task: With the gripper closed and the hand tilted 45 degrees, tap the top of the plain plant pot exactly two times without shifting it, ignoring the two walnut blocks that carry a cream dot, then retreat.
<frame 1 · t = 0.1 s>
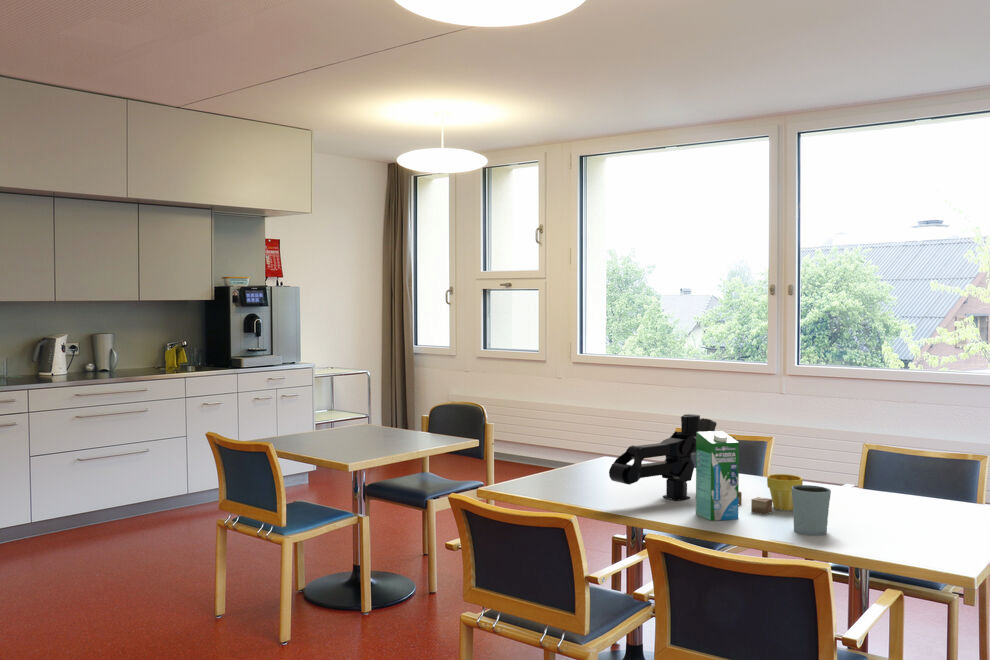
hand: (727, 441, 281), 17 cm above the table, tool horizontal, fingers open, 9 cm apart
marked block a: (761, 512, 248), on the table
plant pot: (784, 508, 253), on the table
drinking glass: (810, 532, 225), on the table
marked block b: (731, 503, 260), on the table
milk carton: (716, 517, 242), on the table
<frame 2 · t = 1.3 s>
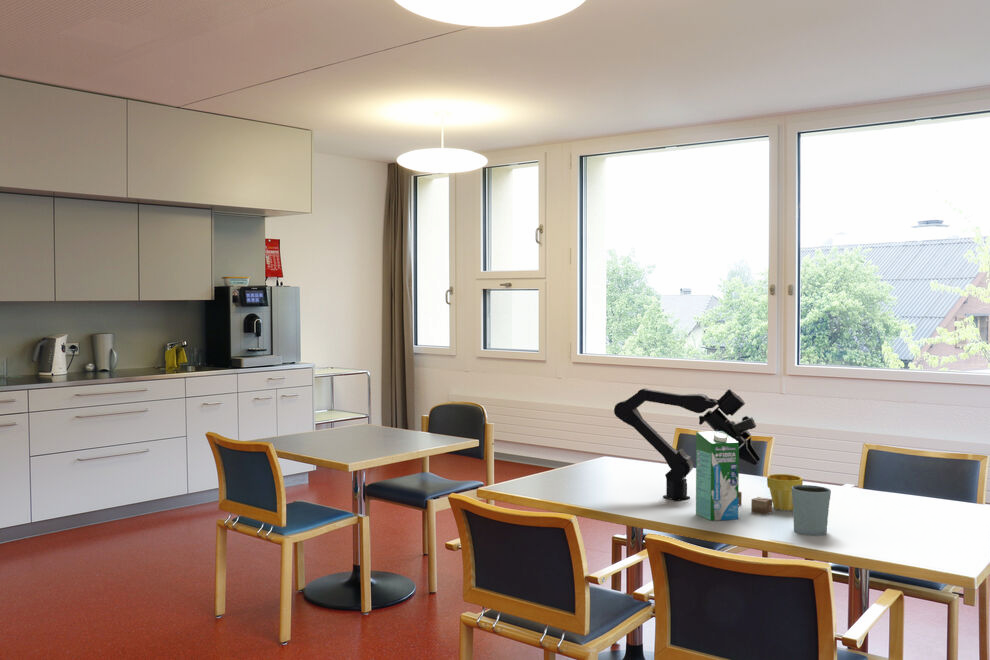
hand: (757, 462, 256), 14 cm above the table, tool tilted 45°, fingers open, 7 cm apart
nothing on the table moved.
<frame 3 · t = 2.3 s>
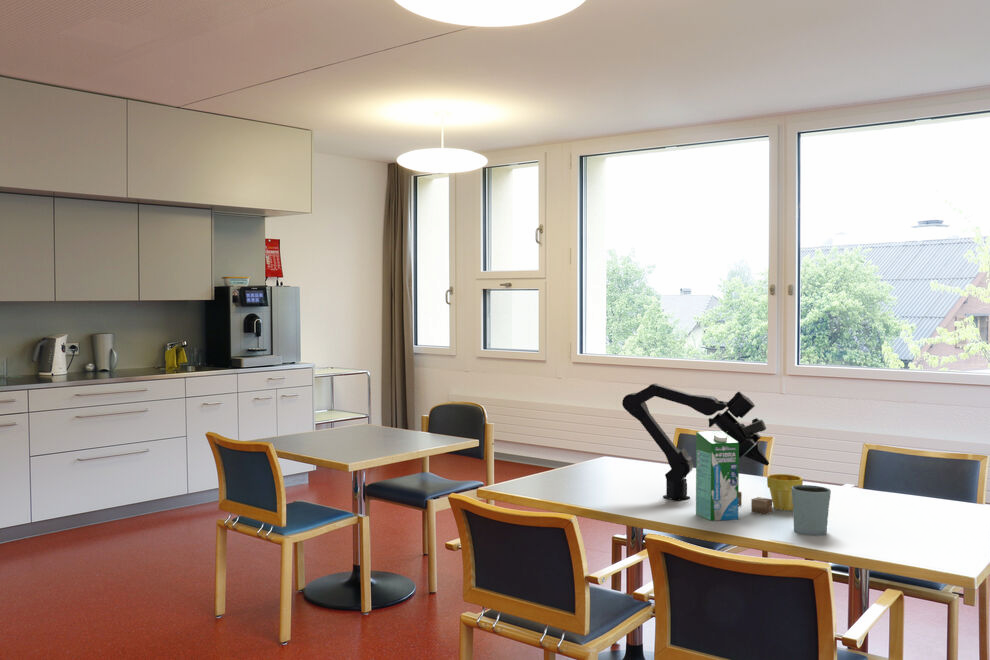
hand: (768, 464, 255), 13 cm above the table, tool tilted 45°, fingers closed
nothing on the table moved.
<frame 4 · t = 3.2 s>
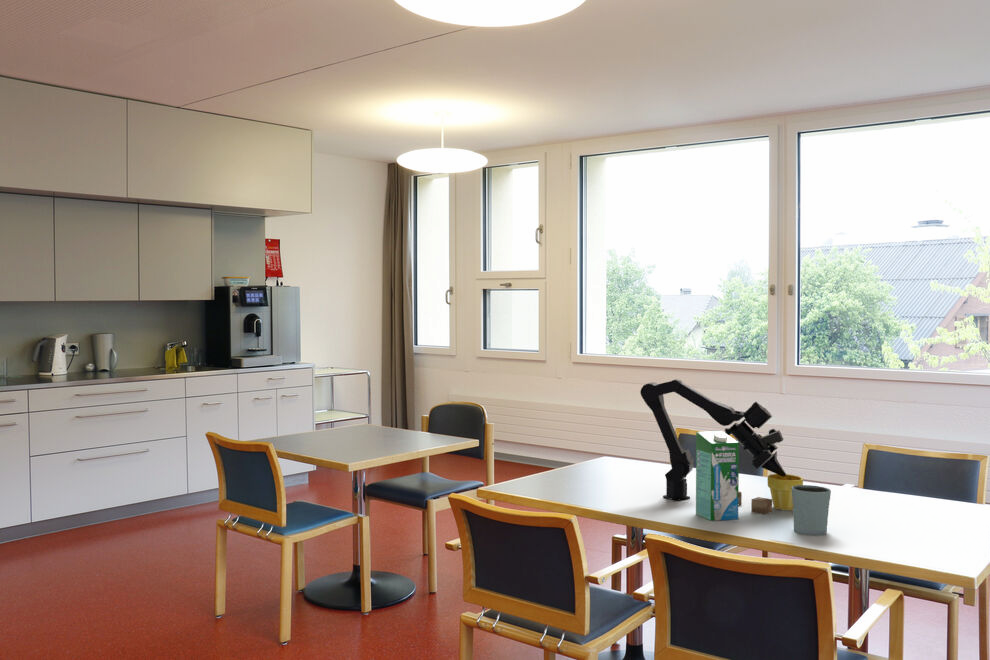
hand: (785, 475, 253), 10 cm above the table, tool tilted 45°, fingers closed, pressing on plant pot
plant pot: (784, 508, 253), on the table, touching gripper
everything else where it was.
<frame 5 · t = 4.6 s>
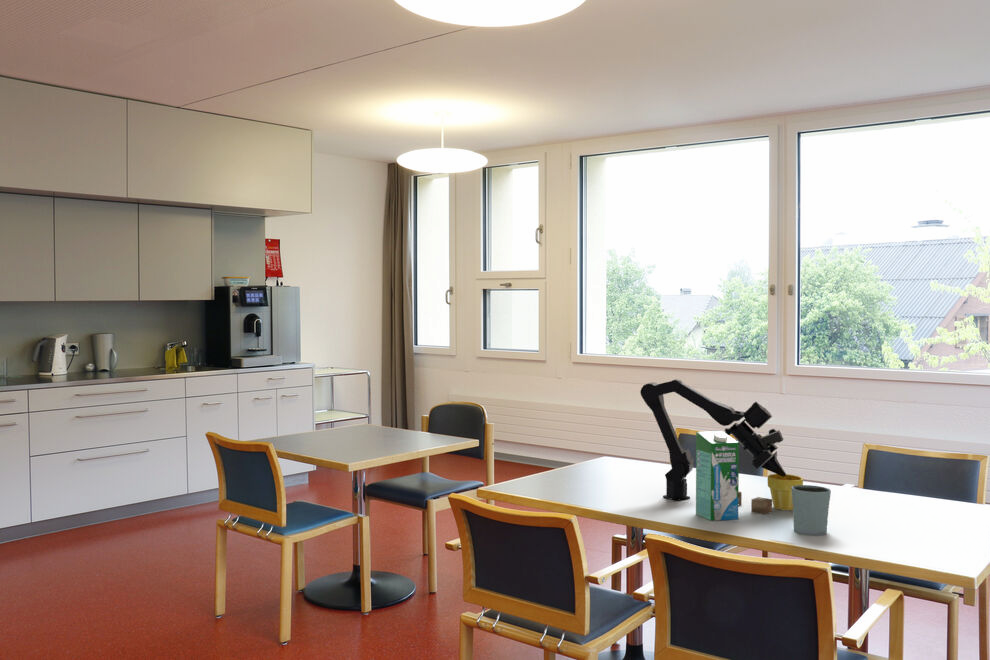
hand: (785, 475, 253), 10 cm above the table, tool tilted 45°, fingers closed, pressing on plant pot
plant pot: (784, 508, 253), on the table, touching gripper
everything else where it was.
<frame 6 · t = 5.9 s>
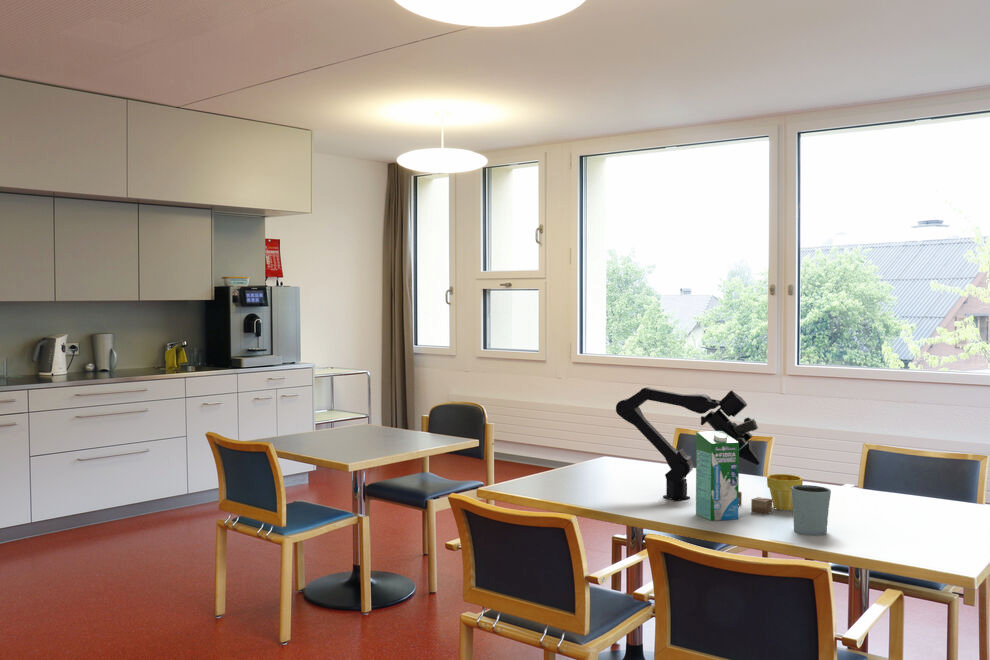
hand: (758, 463, 256), 13 cm above the table, tool tilted 45°, fingers closed
plant pot: (784, 508, 253), on the table
everything else where it was.
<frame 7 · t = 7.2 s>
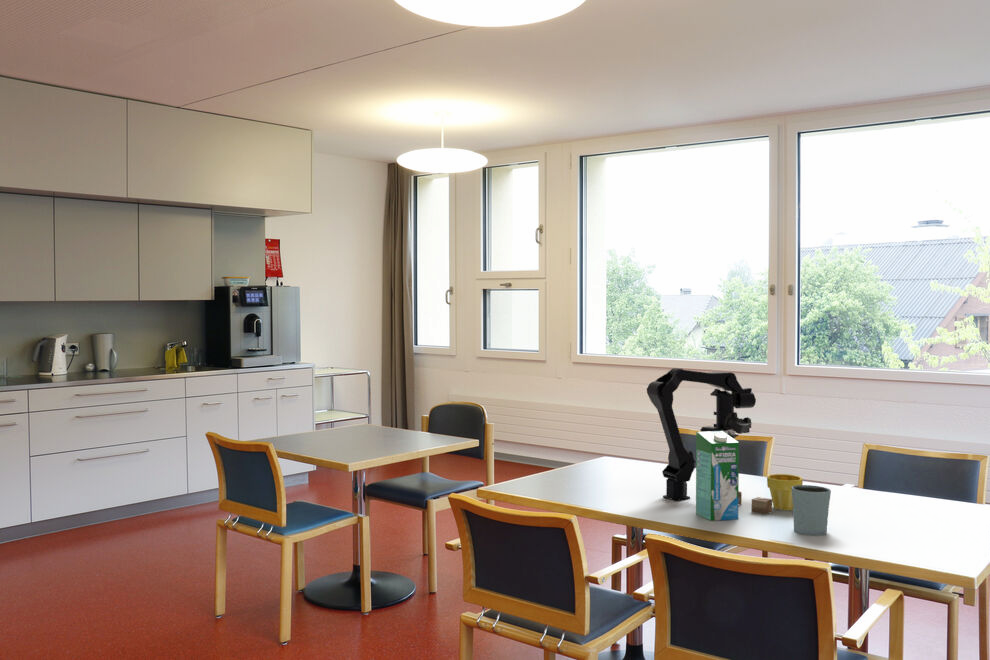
hand: (725, 455, 273), 13 cm above the table, tool pointing down, fingers closed
nothing on the table moved.
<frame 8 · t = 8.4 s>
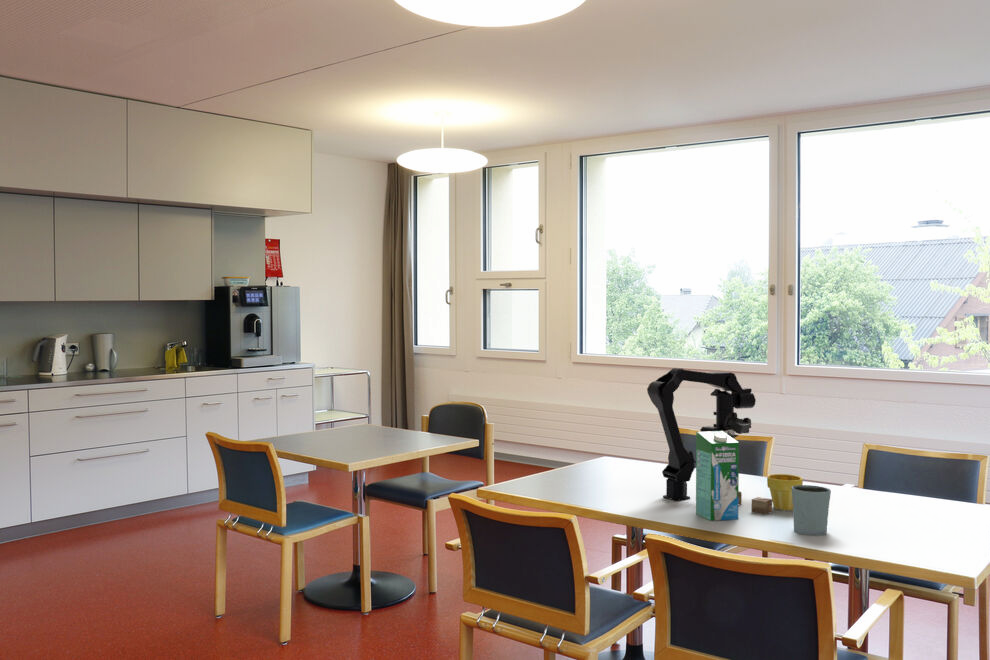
hand: (724, 455, 273), 13 cm above the table, tool pointing down, fingers closed
nothing on the table moved.
at the end: plant pot moved 0.2 cm from its start; plant pot tilted 0°; marked block a moved 0.2 cm from its start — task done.
